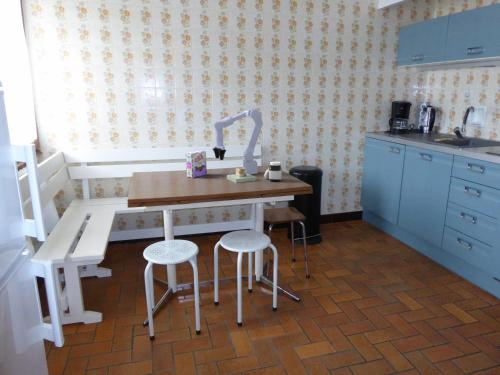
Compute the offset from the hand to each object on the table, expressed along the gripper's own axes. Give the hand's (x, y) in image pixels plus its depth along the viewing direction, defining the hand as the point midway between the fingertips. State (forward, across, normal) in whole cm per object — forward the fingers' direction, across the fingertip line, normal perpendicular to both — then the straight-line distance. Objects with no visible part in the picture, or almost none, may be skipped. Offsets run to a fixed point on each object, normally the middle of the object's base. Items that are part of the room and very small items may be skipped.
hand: (219, 159), depth 263 cm
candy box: (+11, -2, -16) cm, 19 cm away
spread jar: (+11, +34, +22) cm, 42 cm away
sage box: (+11, +23, +5) cm, 26 cm away
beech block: (+8, +23, +5) cm, 25 cm away
